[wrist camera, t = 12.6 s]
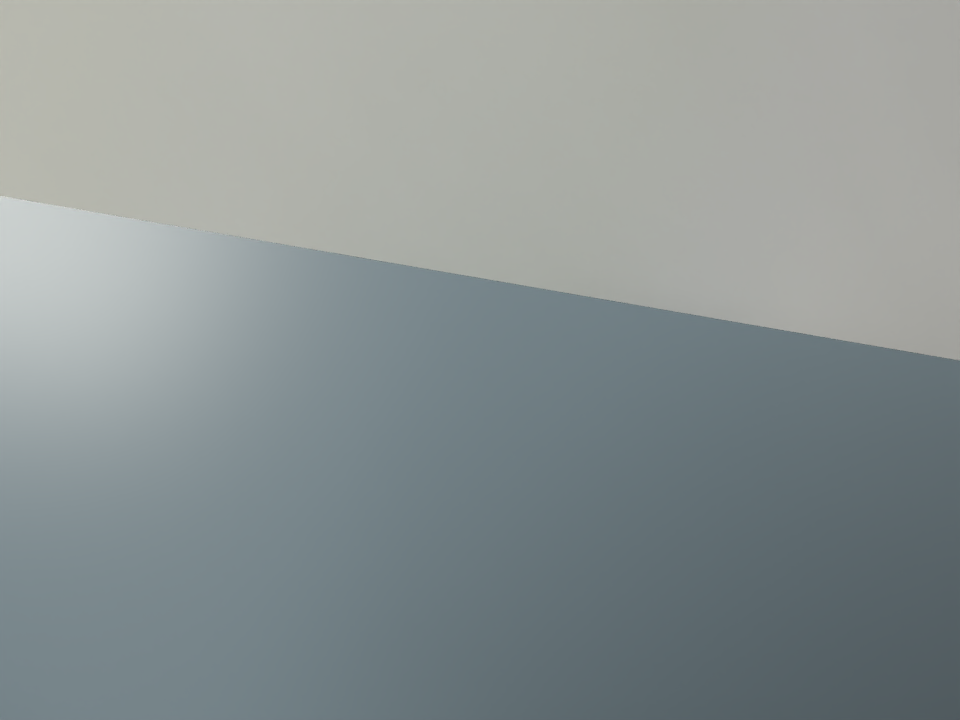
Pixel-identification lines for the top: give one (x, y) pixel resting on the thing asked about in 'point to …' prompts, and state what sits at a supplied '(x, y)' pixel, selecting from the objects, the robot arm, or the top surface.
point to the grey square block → (450, 496)
